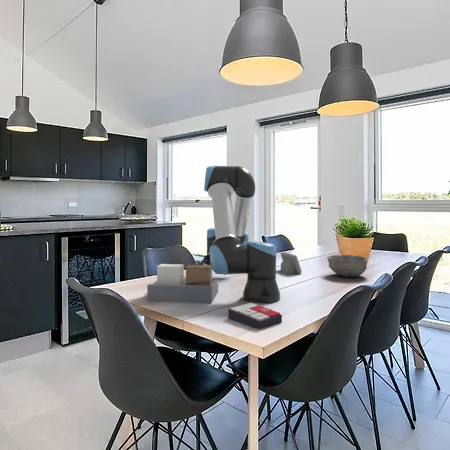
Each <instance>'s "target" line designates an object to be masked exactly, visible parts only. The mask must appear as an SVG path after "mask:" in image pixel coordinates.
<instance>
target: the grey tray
mask: <svg viewBox="0 0 450 450" xmlns="http://www.w3.org/2000/svg"><path fill="white" fill-rule="evenodd" d="M146 290H147V291H146V292H147V294H146V295H147V296H146V297H147V302H160V303H161V302H164V303H165V302H166V303H167V302H168V303H189V304H190V303H191V304H192V303H193V304H195V303H198V304H212V303H213V302H214V300H215V298H216V297H217V295H218V293H219V280H218V279H213V280H212V284H211V286H204V285H186V280H184V283H182V284H181V285H166V284H157V280H156V281H155V282H153V283H152V284H151V283H149V284H147V289H146Z"/></svg>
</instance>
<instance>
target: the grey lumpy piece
mask: <svg viewBox="0 0 450 450" xmlns="http://www.w3.org/2000/svg"><path fill="white" fill-rule="evenodd" d="M280 256H281V259H282V262H280V271H281V272H283V273H284V274H285V273H286V274H287V275H288V274H289V275H291V274H298V275H300V274H302V272H303V270H302V267H301V264H300V261H299V258H298V255H296V254H294V253H289V252H286V251H281V253H280Z"/></svg>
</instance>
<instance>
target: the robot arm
mask: <svg viewBox="0 0 450 450" xmlns="http://www.w3.org/2000/svg"><path fill="white" fill-rule="evenodd" d="M204 174H205V176H204V186H203V192H205V193H206V192H207V195H208V196H209V197H210V198H211V201H212V202H211V203H212V213H213V222H214V223H213V224H214V227H212V228H208V229H207V230H206V255H205V256H204V257H203V259H202V260H195V265H211V266H212V272H214V274H216V275H225V276H226V275H241V274H243V275H244V274H245V275H246V274H247V279H246V283H245V286H244V289H243V293H242V299H243V300H245V301H247V302H249V303H256V304H257V303H258V304H269V303H274V302H278V301H280V300H281V293H280V289H279V285H278V283H277V249H276V246H275V245H274V244H272V243H269V242H262V241H256V240H255V241H254V240H249V233H248V232H247V231H246V230H247V225H248V218H249V214H250V208H251V204H252V203H251V202H252V198H253V197H254V196H255V193H256V182H255V179H254V177H253V175H252V174H251V173H250V171H249V170H247V168H245V167H243V166H238V165H236V166H234V165H233V166H232V165H229V166H228V165H209V166H207V167H206V169H205V173H204ZM233 193H234V194H235V195H236V196H235V203H234V210H233V204H232V203H233V202H232V195H233Z"/></svg>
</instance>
